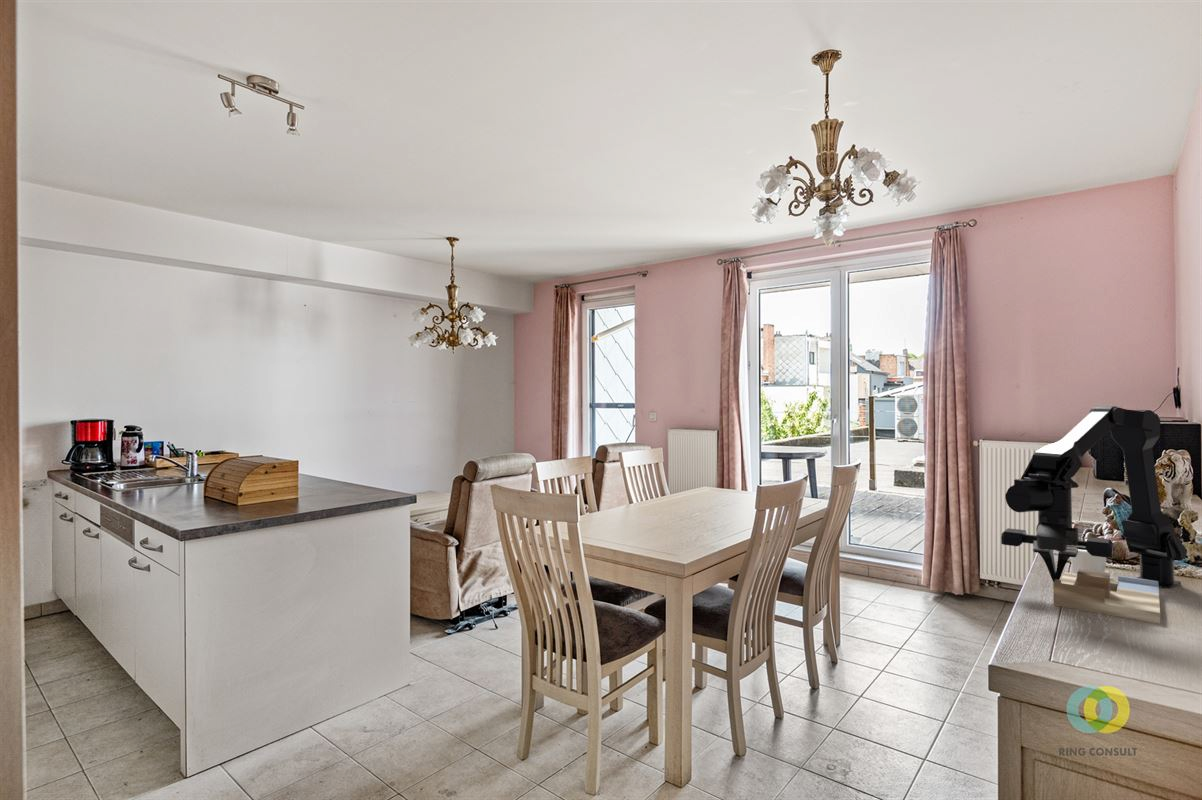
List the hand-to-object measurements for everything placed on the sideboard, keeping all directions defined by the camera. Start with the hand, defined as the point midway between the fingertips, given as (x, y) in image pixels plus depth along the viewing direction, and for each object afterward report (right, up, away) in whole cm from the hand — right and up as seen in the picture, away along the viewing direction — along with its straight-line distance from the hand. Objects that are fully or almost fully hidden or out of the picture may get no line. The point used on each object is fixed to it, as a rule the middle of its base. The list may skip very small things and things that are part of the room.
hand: (1055, 582), depth 129 cm
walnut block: (+5, -1, -4) cm, 6 cm away
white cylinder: (+16, -3, +12) cm, 21 cm away
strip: (+17, -3, 0) cm, 17 cm away
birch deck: (+9, -3, -3) cm, 10 cm away
